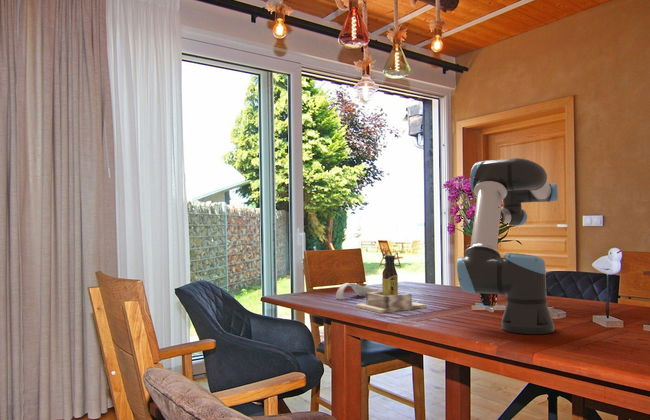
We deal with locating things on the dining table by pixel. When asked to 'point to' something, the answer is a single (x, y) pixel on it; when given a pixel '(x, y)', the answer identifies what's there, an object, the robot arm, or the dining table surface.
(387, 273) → the sauce bottle
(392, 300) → the U-rest
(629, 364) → the dining table surface
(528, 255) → the robot arm
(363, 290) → the grey arched piece
